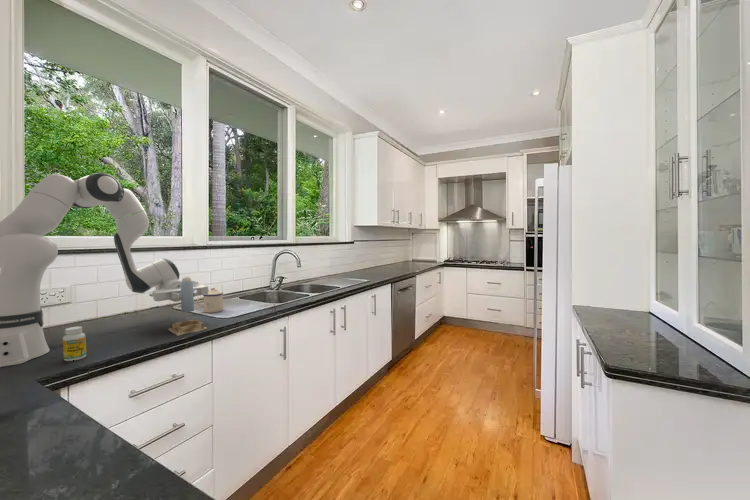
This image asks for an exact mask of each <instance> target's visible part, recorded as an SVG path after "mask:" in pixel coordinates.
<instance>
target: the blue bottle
mask: <svg viewBox="0 0 750 500" xmlns="http://www.w3.org/2000/svg"><path fill="white" fill-rule="evenodd" d="M191 278H192V277H190V276H184V277H182V279H181V280H180V281H181V282H180V284H181V294H182V298H181V301H180V305H181V307H180V308H181V313H190V312H194V311H195V306H194V305H195V303H194V302H195V300H194V298H195V297H194V296H193V280H192V279H191Z"/></svg>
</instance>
